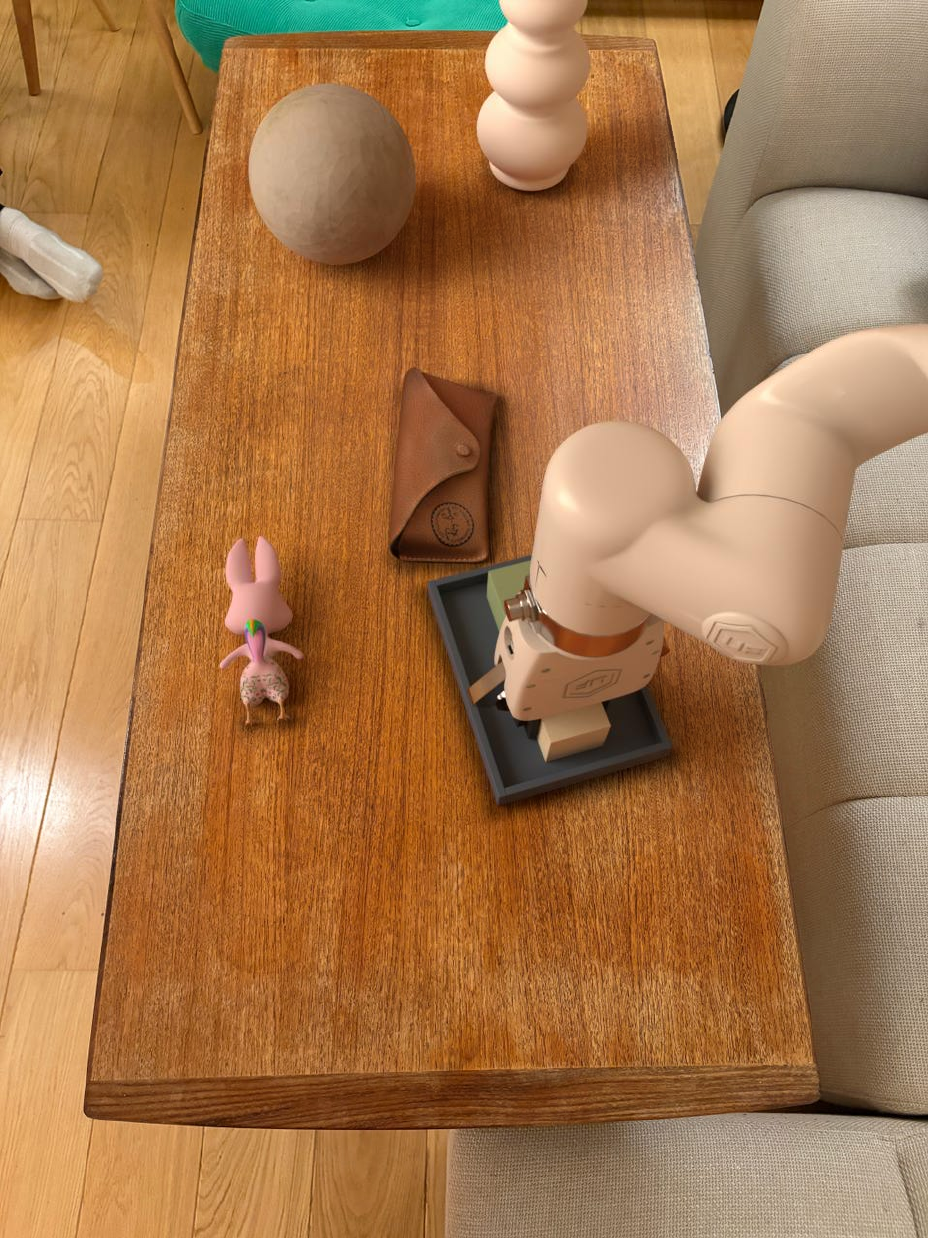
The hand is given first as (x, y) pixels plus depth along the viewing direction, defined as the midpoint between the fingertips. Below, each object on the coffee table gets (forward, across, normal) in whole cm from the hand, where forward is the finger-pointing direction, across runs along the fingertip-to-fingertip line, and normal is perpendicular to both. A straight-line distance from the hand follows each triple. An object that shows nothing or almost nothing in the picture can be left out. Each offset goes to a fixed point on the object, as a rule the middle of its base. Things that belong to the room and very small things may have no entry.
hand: (559, 710), depth 75 cm
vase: (+1, +17, +58) cm, 60 cm away
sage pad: (0, 0, +7) cm, 7 cm away
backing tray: (+1, 0, +4) cm, 4 cm away
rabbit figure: (+1, -20, +13) cm, 24 cm away
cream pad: (0, 0, 0) cm, 0 cm away
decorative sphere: (+1, -4, +53) cm, 53 cm away
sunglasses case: (+1, -2, +24) cm, 24 cm away
